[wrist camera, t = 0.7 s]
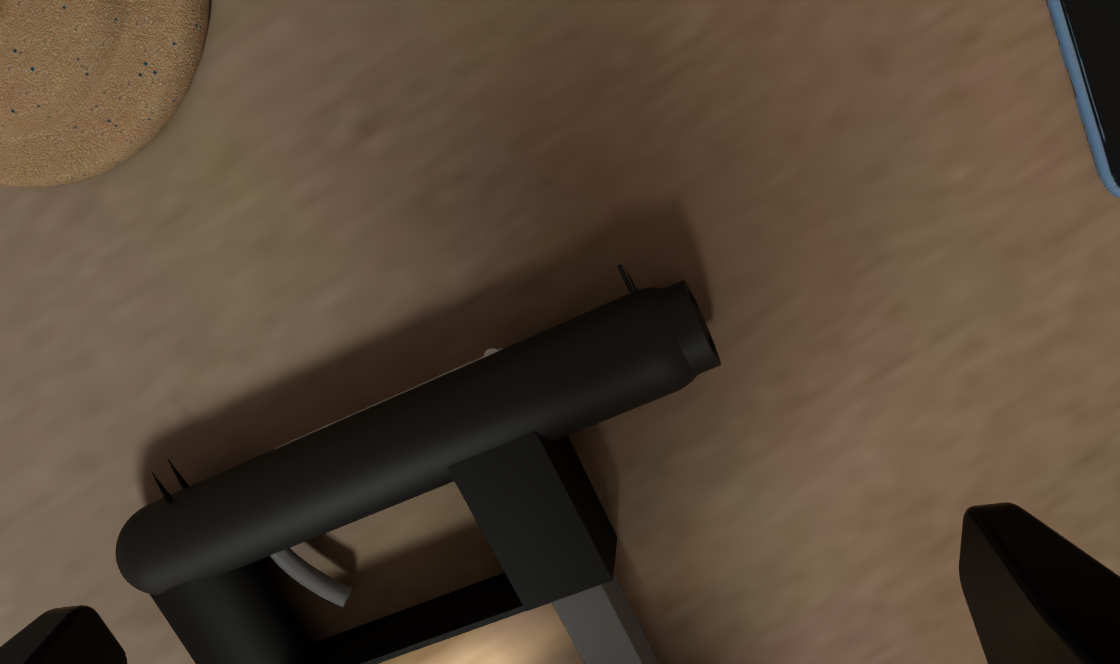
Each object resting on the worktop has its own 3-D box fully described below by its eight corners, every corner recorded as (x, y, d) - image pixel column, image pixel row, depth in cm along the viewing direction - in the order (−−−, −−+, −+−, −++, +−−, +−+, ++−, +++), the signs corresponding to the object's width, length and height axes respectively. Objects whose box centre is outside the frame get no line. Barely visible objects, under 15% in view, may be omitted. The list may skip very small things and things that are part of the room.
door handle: (893, 746, 24) (665, 245, 21) (319, 907, 29) (56, 518, 25) (866, 669, 27) (664, 223, 24) (353, 825, 32) (123, 469, 28)
